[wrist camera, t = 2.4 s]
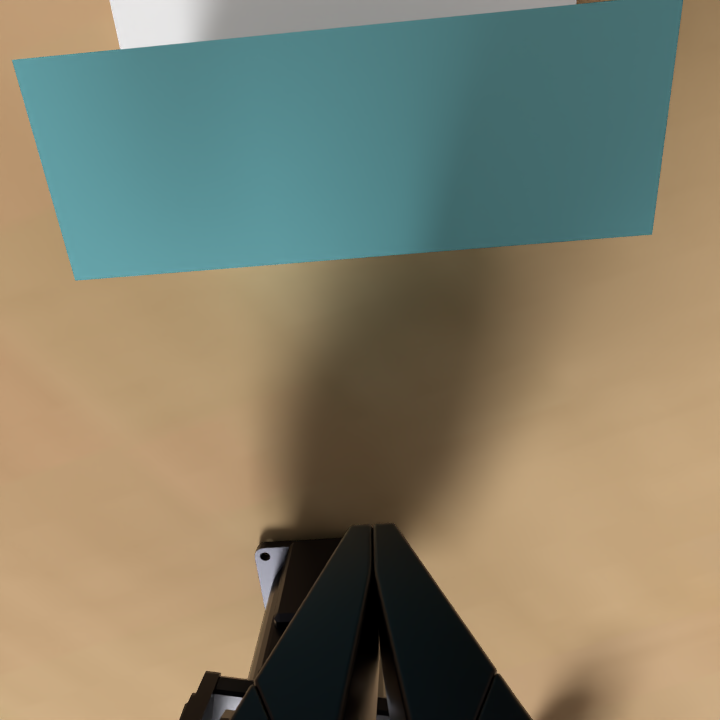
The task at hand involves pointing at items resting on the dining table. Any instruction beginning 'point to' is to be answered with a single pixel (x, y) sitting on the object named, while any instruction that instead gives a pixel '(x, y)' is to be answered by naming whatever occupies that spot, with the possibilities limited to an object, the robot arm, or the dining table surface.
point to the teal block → (357, 139)
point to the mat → (280, 16)
